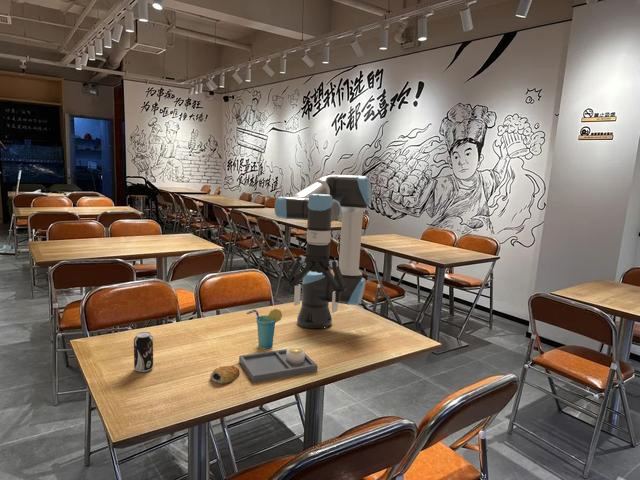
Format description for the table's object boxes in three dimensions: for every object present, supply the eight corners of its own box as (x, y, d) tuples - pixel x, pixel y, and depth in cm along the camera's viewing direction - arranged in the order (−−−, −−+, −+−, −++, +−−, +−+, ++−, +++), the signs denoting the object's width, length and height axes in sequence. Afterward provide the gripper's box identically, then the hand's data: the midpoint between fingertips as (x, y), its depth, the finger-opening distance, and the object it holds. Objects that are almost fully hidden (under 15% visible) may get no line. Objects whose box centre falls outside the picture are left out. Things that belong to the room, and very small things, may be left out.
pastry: (229, 369, 146) (230, 358, 145) (245, 375, 142) (245, 364, 141) (208, 380, 138) (208, 368, 137) (223, 386, 134) (223, 375, 134)
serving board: (239, 361, 151) (239, 348, 151) (298, 352, 161) (298, 340, 160) (253, 382, 137) (253, 367, 136) (317, 371, 147) (317, 357, 146)
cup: (250, 353, 158) (251, 313, 156) (241, 346, 165) (242, 307, 162) (284, 346, 166) (286, 308, 164) (274, 339, 172) (275, 302, 170)
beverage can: (141, 375, 139) (141, 338, 137) (130, 370, 142) (129, 334, 140) (157, 368, 144) (156, 333, 142) (145, 364, 147) (145, 329, 145)
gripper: (278, 240, 142) (276, 304, 145) (350, 249, 131) (346, 318, 134) (290, 237, 148) (287, 299, 151) (359, 246, 138) (355, 311, 141)
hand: (315, 308), depth 143 cm, fingers open, 13 cm apart
